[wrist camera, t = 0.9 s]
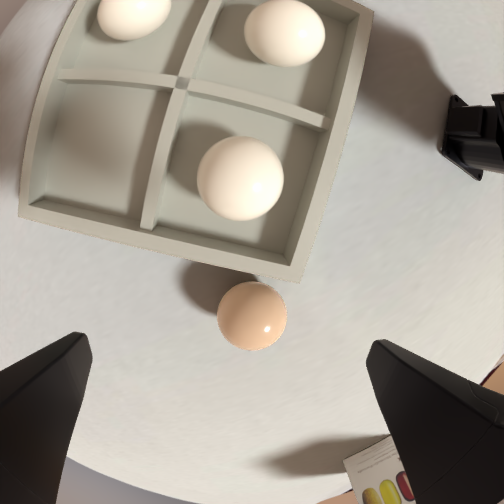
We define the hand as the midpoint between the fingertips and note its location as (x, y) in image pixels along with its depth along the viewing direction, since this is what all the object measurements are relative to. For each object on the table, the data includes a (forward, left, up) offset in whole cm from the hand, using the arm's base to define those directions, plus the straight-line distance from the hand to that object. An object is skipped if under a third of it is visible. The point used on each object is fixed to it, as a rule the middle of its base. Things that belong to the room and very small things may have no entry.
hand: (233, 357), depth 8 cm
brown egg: (-3, +4, -12) cm, 14 cm away
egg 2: (0, -4, -12) cm, 13 cm away
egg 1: (+10, -14, -12) cm, 21 cm away
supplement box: (-32, +31, -13) cm, 46 cm away
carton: (+5, -9, -12) cm, 16 cm away
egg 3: (0, -14, -12) cm, 18 cm away
